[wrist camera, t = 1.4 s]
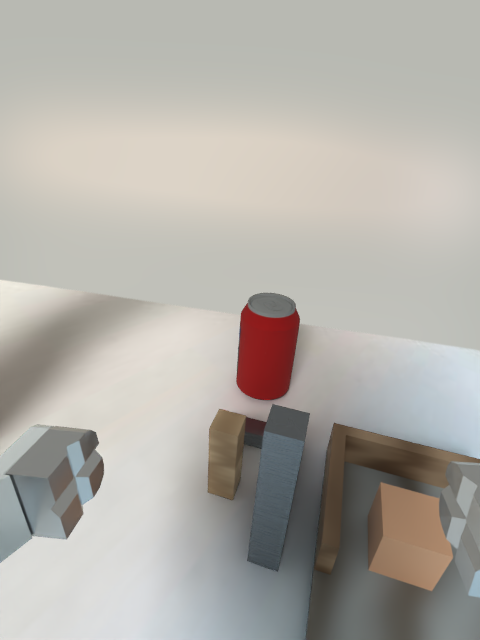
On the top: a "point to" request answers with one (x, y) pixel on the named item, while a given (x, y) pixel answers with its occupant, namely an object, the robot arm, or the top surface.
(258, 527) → the hook tool
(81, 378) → the top surface
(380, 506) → the block
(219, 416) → the plain rod
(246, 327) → the beverage can
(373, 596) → the wooden tray
